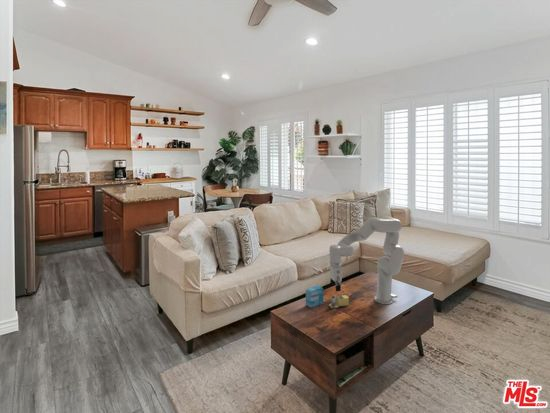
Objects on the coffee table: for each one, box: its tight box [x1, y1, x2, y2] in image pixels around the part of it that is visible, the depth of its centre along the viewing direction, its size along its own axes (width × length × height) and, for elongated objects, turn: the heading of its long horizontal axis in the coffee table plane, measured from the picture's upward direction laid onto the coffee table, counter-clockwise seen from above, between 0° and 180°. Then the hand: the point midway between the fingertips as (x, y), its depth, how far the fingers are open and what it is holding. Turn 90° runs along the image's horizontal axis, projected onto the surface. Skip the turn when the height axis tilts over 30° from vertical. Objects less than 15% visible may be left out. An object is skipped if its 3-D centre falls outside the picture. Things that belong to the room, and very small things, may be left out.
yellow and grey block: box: [335, 294, 350, 307], centre depth 231 cm, size 7×5×6 cm, turn 101°
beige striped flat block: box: [328, 303, 339, 309], centre depth 228 cm, size 5×4×1 cm
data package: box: [305, 285, 324, 309], centre depth 230 cm, size 12×4×12 cm, turn 124°
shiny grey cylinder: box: [331, 295, 337, 306], centre depth 228 cm, size 2×2×6 cm
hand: (335, 288), depth 226 cm, fingers open, 9 cm apart
